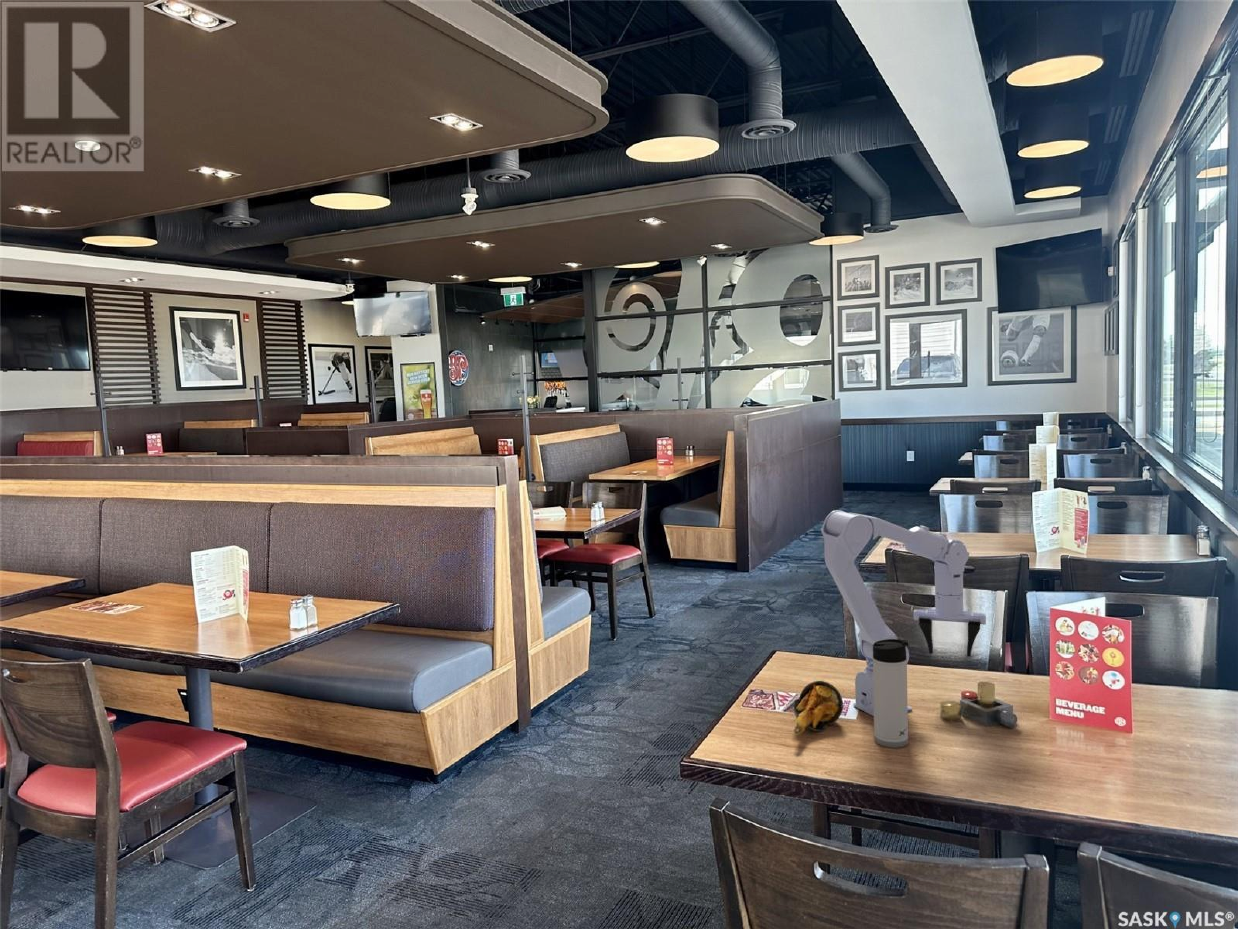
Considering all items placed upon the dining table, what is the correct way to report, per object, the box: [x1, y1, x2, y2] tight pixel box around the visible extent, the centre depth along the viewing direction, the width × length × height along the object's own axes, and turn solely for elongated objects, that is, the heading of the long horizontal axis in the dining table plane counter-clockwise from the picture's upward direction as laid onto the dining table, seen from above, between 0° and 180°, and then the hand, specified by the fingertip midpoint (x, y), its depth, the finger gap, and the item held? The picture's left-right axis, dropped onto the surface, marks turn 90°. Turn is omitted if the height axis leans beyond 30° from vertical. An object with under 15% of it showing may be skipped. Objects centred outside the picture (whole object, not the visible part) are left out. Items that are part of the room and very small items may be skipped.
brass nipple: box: [977, 681, 996, 709], centre depth 166 cm, size 3×3×6 cm
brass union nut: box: [939, 700, 962, 723], centre depth 167 cm, size 4×4×3 cm
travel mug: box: [873, 638, 909, 749], centre depth 156 cm, size 6×7×20 cm
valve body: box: [959, 690, 1018, 729], centre depth 166 cm, size 7×13×4 cm, turn 21°
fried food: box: [792, 680, 844, 736], centre depth 164 cm, size 9×11×18 cm
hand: (949, 653), depth 177 cm, fingers open, 7 cm apart
